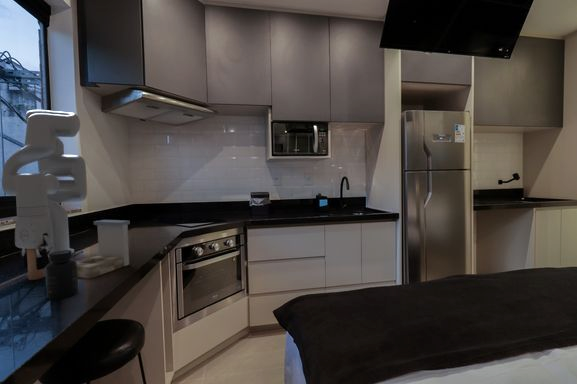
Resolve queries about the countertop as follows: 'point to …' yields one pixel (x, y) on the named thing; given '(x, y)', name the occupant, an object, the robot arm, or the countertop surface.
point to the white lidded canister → (113, 239)
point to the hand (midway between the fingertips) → (36, 267)
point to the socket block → (97, 265)
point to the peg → (34, 265)
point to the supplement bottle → (61, 275)
